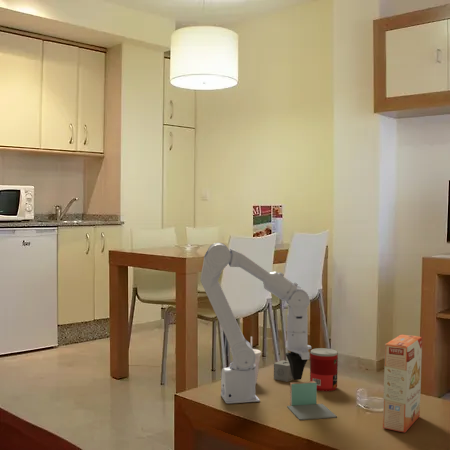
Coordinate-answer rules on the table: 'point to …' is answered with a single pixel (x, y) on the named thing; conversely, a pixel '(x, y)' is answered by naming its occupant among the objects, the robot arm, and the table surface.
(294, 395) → the tile
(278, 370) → the dice cube
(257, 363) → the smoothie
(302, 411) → the mat
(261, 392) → the table surface
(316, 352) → the canned food
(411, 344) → the cracker box
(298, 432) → the table surface
